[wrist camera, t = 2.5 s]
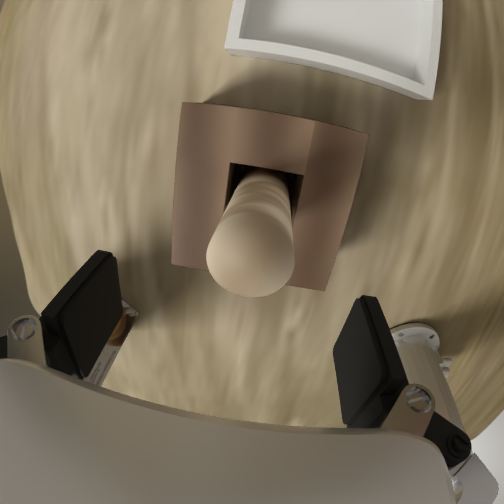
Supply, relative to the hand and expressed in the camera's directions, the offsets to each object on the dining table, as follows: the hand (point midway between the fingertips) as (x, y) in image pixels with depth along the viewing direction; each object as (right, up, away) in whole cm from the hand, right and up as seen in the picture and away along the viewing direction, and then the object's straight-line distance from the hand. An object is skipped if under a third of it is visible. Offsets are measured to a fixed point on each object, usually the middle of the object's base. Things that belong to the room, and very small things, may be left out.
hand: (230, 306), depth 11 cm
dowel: (+2, +9, +17) cm, 19 cm away
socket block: (+2, +9, +17) cm, 19 cm away
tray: (+9, +25, +7) cm, 28 cm away
